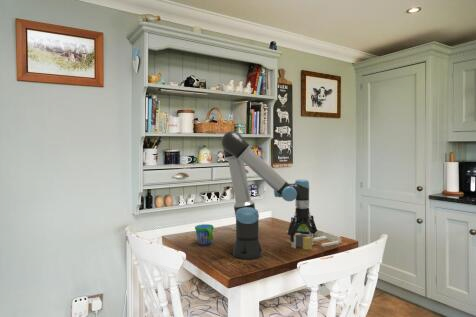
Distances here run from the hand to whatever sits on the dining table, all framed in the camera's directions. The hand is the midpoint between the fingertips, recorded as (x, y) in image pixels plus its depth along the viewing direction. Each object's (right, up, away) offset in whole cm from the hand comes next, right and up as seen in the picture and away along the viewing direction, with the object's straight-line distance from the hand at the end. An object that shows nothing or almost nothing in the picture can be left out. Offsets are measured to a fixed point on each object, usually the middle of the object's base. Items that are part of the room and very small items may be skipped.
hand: (302, 246), depth 177 cm
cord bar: (0, 0, 0) cm, 0 cm away
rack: (+9, 0, +17) cm, 20 cm away
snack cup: (-56, -1, +7) cm, 56 cm away
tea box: (+4, 0, +21) cm, 21 cm away
